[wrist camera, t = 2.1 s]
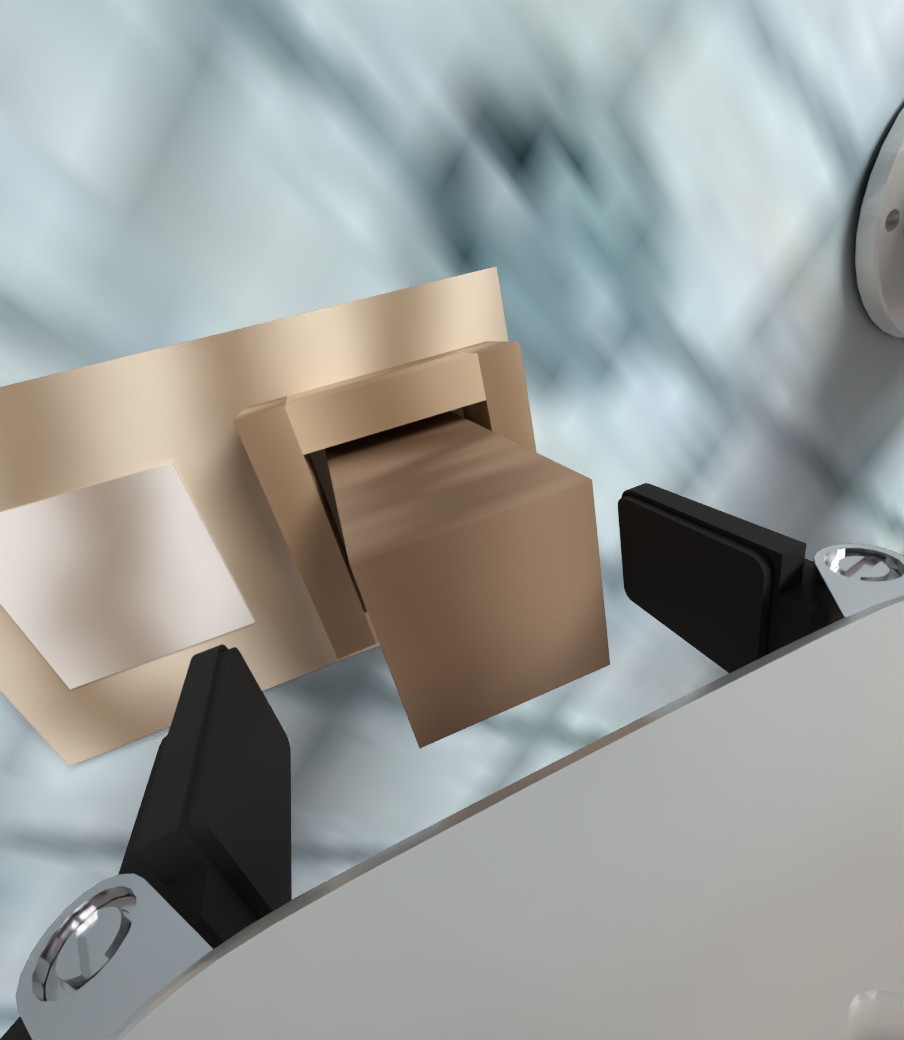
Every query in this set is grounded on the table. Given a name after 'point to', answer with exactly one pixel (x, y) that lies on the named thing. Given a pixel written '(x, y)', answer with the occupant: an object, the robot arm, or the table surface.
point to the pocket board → (216, 499)
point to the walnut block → (470, 567)
